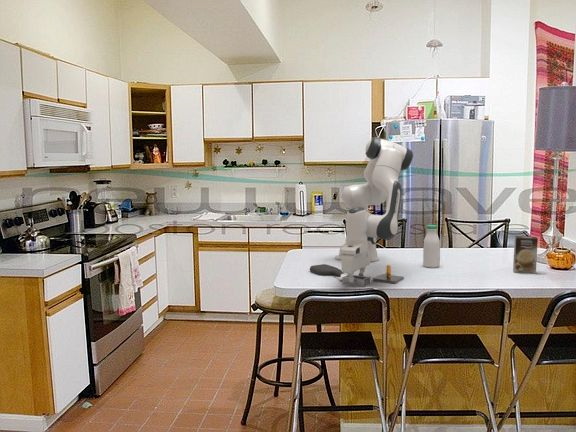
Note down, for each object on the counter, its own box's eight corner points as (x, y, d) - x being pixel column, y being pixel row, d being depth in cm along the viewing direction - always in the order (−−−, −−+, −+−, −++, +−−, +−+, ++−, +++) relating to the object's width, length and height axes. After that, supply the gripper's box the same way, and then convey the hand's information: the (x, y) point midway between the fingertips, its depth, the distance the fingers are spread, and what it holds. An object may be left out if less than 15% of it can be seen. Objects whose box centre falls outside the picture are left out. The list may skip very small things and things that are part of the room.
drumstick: (326, 269, 246) (357, 280, 225) (307, 272, 241) (337, 283, 220) (326, 263, 246) (357, 273, 225) (307, 266, 241) (337, 276, 219)
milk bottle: (440, 268, 244) (441, 226, 242) (423, 267, 245) (424, 226, 243) (439, 265, 251) (439, 224, 249) (422, 264, 253) (423, 224, 251)
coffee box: (514, 273, 232) (515, 237, 230) (512, 270, 238) (514, 235, 236) (536, 274, 229) (537, 238, 227) (534, 271, 235) (536, 236, 233)
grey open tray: (342, 284, 215) (342, 277, 215) (348, 281, 220) (348, 274, 220) (364, 287, 210) (364, 279, 210) (370, 284, 215) (370, 276, 215)
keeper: (372, 281, 220) (373, 265, 219) (382, 276, 228) (382, 261, 227) (395, 284, 214) (395, 268, 214) (403, 279, 223) (404, 263, 222)
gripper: (360, 242, 224) (360, 274, 225) (338, 250, 207) (338, 284, 208) (373, 244, 220) (373, 275, 222) (352, 251, 203) (353, 285, 205)
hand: (356, 279), depth 215 cm, fingers open, 7 cm apart
